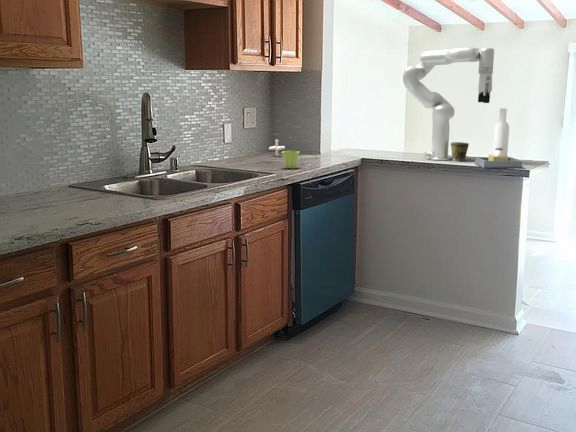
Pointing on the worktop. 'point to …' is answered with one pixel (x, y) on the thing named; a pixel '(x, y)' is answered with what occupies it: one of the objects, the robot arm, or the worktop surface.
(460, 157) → the ceramic cup
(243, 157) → the worktop surface
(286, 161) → the plant pot
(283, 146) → the pipe connector
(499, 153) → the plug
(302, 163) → the worktop surface
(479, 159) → the box
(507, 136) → the bottle
